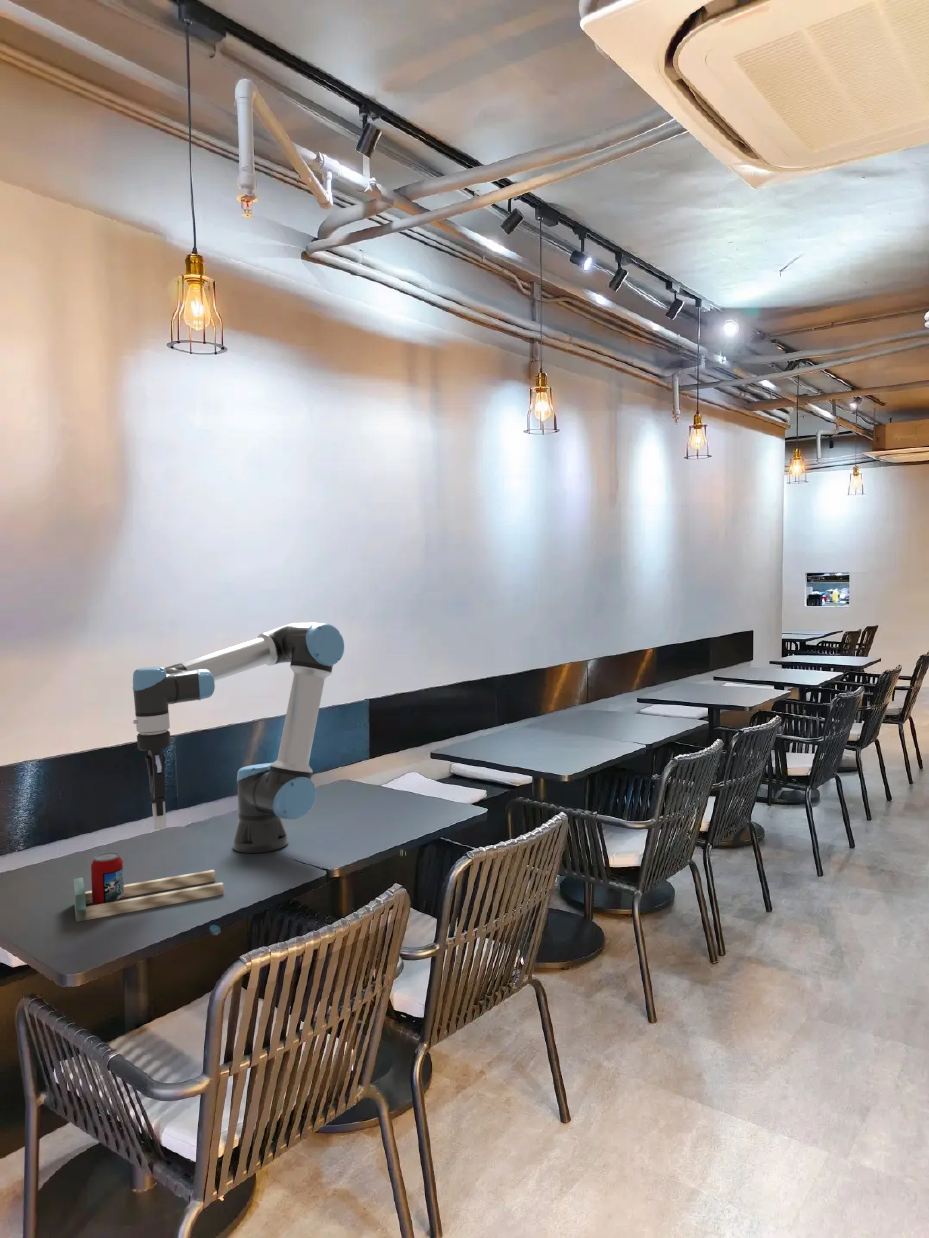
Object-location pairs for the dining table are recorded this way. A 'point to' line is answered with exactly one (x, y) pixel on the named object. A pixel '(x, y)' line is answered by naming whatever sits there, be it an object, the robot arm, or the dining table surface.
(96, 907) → the channel
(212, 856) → the dining table surface
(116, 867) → the beverage can
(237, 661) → the robot arm
